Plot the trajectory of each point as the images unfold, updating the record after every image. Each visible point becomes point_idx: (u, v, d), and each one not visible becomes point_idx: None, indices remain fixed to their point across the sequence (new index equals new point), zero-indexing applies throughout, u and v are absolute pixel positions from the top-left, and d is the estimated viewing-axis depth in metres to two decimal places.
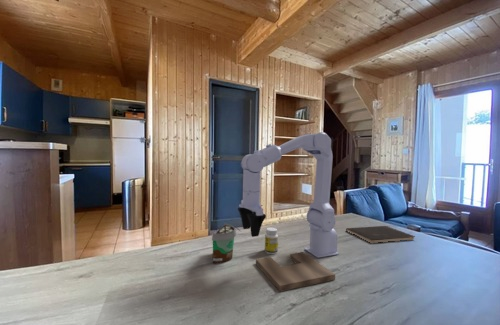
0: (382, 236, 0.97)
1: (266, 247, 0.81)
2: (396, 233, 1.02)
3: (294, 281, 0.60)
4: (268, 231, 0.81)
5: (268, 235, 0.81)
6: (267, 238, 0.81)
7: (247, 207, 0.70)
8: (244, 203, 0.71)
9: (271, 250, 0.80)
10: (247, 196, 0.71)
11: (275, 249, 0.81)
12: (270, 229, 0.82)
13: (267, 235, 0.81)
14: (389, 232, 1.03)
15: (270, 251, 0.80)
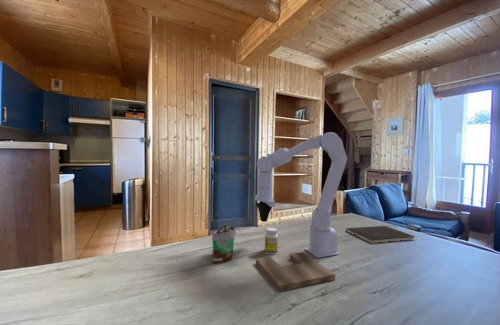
0: (382, 236, 0.97)
1: (266, 247, 0.81)
2: (396, 233, 1.02)
3: (294, 281, 0.60)
4: (268, 231, 0.81)
5: (268, 235, 0.81)
6: (267, 238, 0.81)
7: (262, 200, 0.86)
8: (259, 197, 0.87)
9: (271, 250, 0.80)
10: (261, 191, 0.86)
11: (275, 249, 0.81)
12: (270, 229, 0.82)
13: (267, 235, 0.81)
14: (389, 232, 1.03)
15: (270, 251, 0.80)
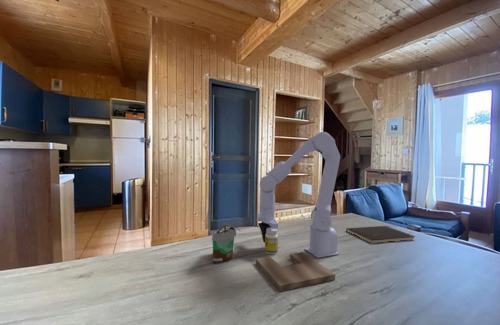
0: (382, 236, 0.97)
1: (266, 247, 0.81)
2: (396, 233, 1.02)
3: (294, 281, 0.60)
4: (268, 231, 0.81)
5: (268, 235, 0.81)
6: (267, 238, 0.81)
7: (264, 221, 0.83)
8: (261, 217, 0.85)
9: (271, 250, 0.80)
10: (264, 211, 0.84)
11: (275, 249, 0.81)
12: (270, 229, 0.82)
13: (267, 235, 0.81)
14: (389, 232, 1.03)
15: (270, 251, 0.80)
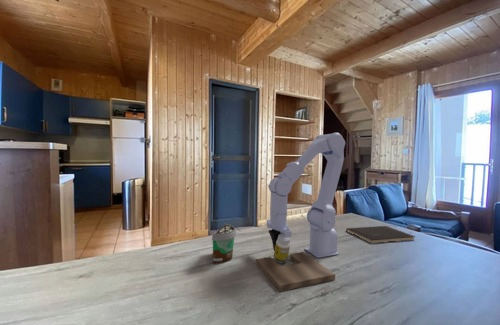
0: (382, 236, 0.97)
1: (276, 255, 0.74)
2: (396, 233, 1.02)
3: (294, 281, 0.60)
4: (280, 240, 0.72)
5: (279, 244, 0.73)
6: (278, 247, 0.73)
7: (275, 228, 0.75)
8: (272, 224, 0.76)
9: (281, 259, 0.73)
10: (275, 217, 0.75)
11: (285, 258, 0.74)
12: (282, 237, 0.73)
13: (278, 243, 0.73)
14: (389, 232, 1.03)
15: (279, 260, 0.73)
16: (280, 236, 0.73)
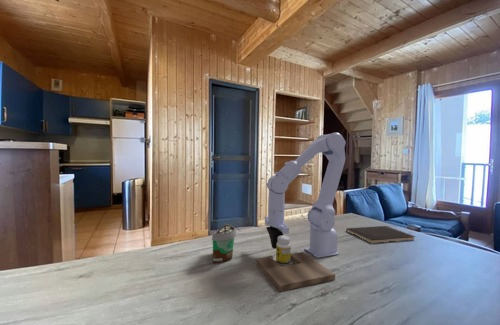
0: (382, 236, 0.97)
1: (278, 258, 0.73)
2: (396, 233, 1.02)
3: (294, 281, 0.60)
4: (280, 240, 0.72)
5: (279, 244, 0.73)
6: (279, 248, 0.72)
7: (273, 225, 0.76)
8: (270, 221, 0.78)
9: (284, 261, 0.72)
10: (273, 215, 0.77)
11: (288, 260, 0.72)
12: (282, 238, 0.73)
13: (279, 244, 0.73)
14: (389, 232, 1.03)
15: (282, 262, 0.72)
16: (279, 237, 0.74)
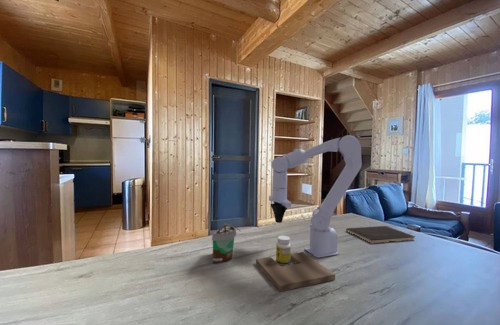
0: (382, 237, 0.97)
1: (278, 258, 0.73)
2: (396, 233, 1.02)
3: (294, 281, 0.60)
4: (280, 240, 0.72)
5: (279, 244, 0.73)
6: (279, 248, 0.72)
7: (277, 201, 0.85)
8: (274, 198, 0.86)
9: (284, 261, 0.72)
10: (277, 192, 0.85)
11: (288, 260, 0.72)
12: (282, 238, 0.73)
13: (279, 244, 0.73)
14: (389, 232, 1.03)
15: (282, 262, 0.72)
16: (279, 237, 0.74)
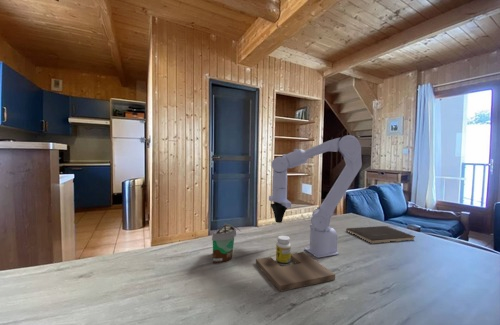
0: (382, 237, 0.97)
1: (277, 258, 0.73)
2: (396, 233, 1.02)
3: (294, 281, 0.60)
4: (280, 240, 0.73)
5: (279, 244, 0.73)
6: (279, 248, 0.72)
7: (277, 201, 0.85)
8: (274, 198, 0.86)
9: (284, 261, 0.72)
10: (277, 192, 0.85)
11: (288, 260, 0.72)
12: (282, 237, 0.73)
13: (279, 244, 0.73)
14: (389, 232, 1.03)
15: (282, 262, 0.72)
16: (279, 237, 0.74)
